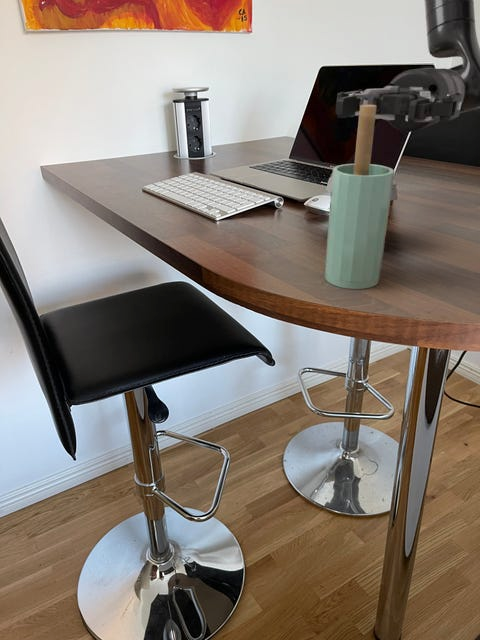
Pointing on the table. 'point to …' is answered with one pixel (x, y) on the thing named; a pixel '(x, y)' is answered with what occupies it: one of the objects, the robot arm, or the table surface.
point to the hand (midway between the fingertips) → (374, 110)
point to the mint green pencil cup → (357, 226)
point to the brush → (364, 139)
